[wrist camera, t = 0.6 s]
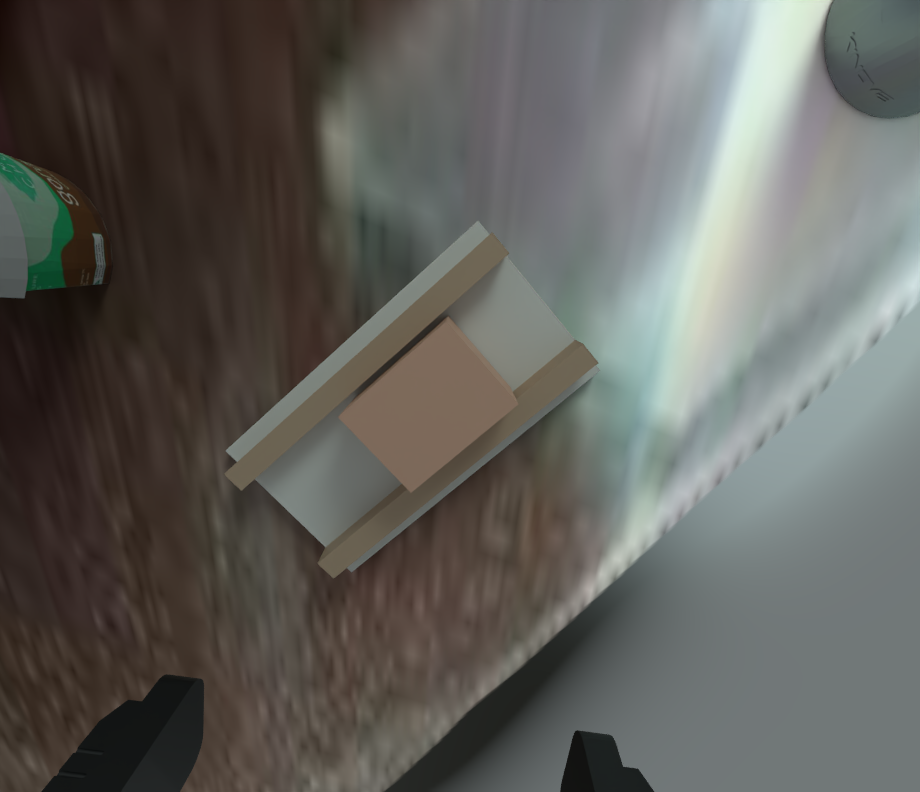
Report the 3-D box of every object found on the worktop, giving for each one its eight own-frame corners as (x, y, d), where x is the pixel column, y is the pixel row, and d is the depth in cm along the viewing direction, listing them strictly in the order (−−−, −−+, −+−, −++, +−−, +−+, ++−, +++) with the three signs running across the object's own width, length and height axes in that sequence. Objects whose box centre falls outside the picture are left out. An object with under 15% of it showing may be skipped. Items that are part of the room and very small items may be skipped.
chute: (477, 222, 30) (479, 216, 27) (596, 367, 32) (609, 376, 30) (232, 445, 34) (210, 461, 31) (354, 564, 36) (345, 589, 33)
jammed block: (448, 315, 30) (446, 321, 26) (510, 386, 31) (518, 404, 27) (354, 398, 32) (337, 416, 27) (417, 464, 33) (410, 493, 28)
